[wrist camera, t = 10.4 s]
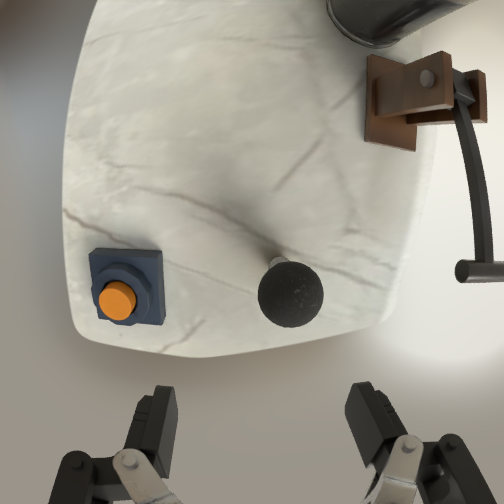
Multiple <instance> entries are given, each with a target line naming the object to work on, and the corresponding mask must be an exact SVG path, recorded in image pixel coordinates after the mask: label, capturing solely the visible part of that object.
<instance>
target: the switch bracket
mask: <svg viewBox="0 0 504 504" xmlns="http://www.w3.org/2000/svg"><path fill="white" fill-rule="evenodd" d="M464 74H465V76H466V78H467V81H468V83H469V86H470V88H471V91H472V93H473V96H474V99H475V101H474V102H473V103H472V104H471V105H469V106H468V107H467V108H468V111H469V114H470V118H471V121H472V123H487V91H486V77H485V73H483V72H481V71H480V70H472V71H468V72H464ZM453 107H454V93H453V72H452V59H451V55H450V54H448V53H446V52H444V51H440V52H437V53H434V54H431V55H429V56H427V57H424V58H421V59H419V60H416V61H414V62H412V63H409V64H407V65H404V64H401V63H398V62H395V61H392V60H389V59H386V58H383V57H379V56H376V55H372V54H371V55H370V56H368V57H367V106H366V126H365V142H369V143H374V144H379V145H384V146H389V147H393V148H398V149H402V150H406V151H413V152H415V151H416V136H417V126H423V125H439V124H455V121H454V117H453V114H452V111H451V110H449V109H446V108H453Z"/></svg>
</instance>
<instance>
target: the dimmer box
mask: <svg viewBox="0 0 504 504" xmlns="http://www.w3.org/2000/svg"><path fill="white" fill-rule="evenodd" d="M89 262H90V270H91V277H92V284H93V285H92V287H91V291H92V297H93V302H94V304H95V306H96V307H97V313H98V318H99V319H105V320H110V321H111V322H113V323H115V324H117V325H126V326H132V325H134V324H136V323H141V324H152V325H162V324H163V322H164V319H165V317H166V310H165V296H164V280H163V259H162V251H152V250H130V249H108V248H96V249H95V250H93V251H92V252H91V253H89ZM115 281H119V282H123V283H125V284H127V285H128V286H129V287H130V288H131V289H132V290H133V292H134V294H135V297H136V304H135V307H134V308H133V310H132V312H131V313H130V315H129V316H128V317H127V318H126V319H123V320H114V319H111V318H110V317H108V316H107V315H105V313H104V312H103V311H102V309H101V308H100V305H99V296H100V294H101V292H102V291H103V290H104V289H105V288H106V287H107V285H108V284H110V283H111V282H115Z"/></svg>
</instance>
